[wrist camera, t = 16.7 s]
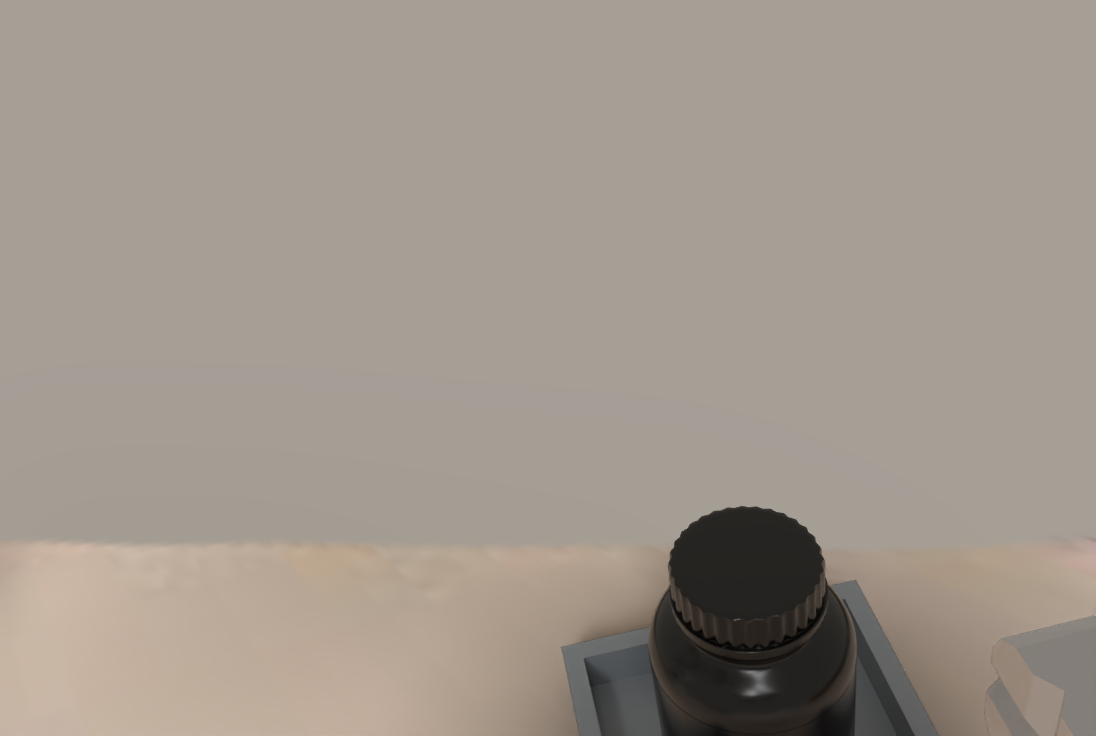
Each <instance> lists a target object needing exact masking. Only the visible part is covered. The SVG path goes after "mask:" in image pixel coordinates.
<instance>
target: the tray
mask: <svg viewBox="0 0 1096 736" xmlns="http://www.w3.org/2000/svg"><path fill="white" fill-rule="evenodd" d="M831 587H832V588H833V589H834V590H835V592H836V593H837V594H838V595H839V597H840V598H841V599H842V601H843V603H844V604H845V606H846V607H847V609H848V611H849V614H850V616H851V618H852V621H853V624H854V628H855V632H856V641H857V677H856V710H855V736H939V735H938V733H937V731H936V729H935V727H934V725H933V723H932V722H931V720H930V718H929V716H928V714H927V712H926V710H925V708H924V707H923V705H922V703H921V701H920V699H919V697H918V695H917V693H916V692H915V690H914V688H913V686H912V684H911V682H910V680H909V678H908V677H907V675H906V673H905V671H904V669H903V667H902V665H901V663H900V662H899V660H898V658H897V656H896V654H895V652H894V650H893V648H892V647H891V645H890V643H889V641H888V639H887V637H886V635H885V634H884V632H883V630H882V628H881V626H880V624H879V622H878V620H877V619H876V617H875V615H874V613H873V611H872V609H871V607H870V605H869V604H868V602H867V600H866V598H865V596H864V594H863V592H862V590H861V589H860V587H859V585H858V583H857V581H856V580H854V581H850V582H845V583H841V584H836V585H832V586H831ZM648 633H649V627H647V628H643V629H638V630H634V631H629V632H625V633H621V634H616V635H612V636H607V637H603V638H599V639H594V640H590V641H585V642H581V643H577V644H572V645H568V646H563V647H561V648H562V653H563V658H564V663H565V667H566V672H567V677H568V682H569V687H570V691H571V696H572V701H573V706H574V711H575V715H576V720H577V725H578V730H579V735H580V736H662V734H661V728H660V721H659V715H658V709H657V703H656V696H655V690H654V684H653V678H652V671H651V665H650V658H649V649H648Z"/></svg>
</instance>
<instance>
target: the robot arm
mask: <svg viewBox="0 0 1096 736" xmlns="http://www.w3.org/2000/svg"><path fill="white" fill-rule="evenodd" d="M991 664H992V666H993V667H994V669H995V671H996V672H997V674H998V676H999V677H1000V678H999V679H998V680H997V681H996V682H995V683H994V684H993V685H992V686H991V687H990V688H989V689H988V690H987V691H986V701H985V712H984V713H985V718H986V723H987V727H988V732H989V736H1096V616H1090V617H1086V618H1082V619H1078V620H1074V621H1070V622H1066V623H1062V624H1058V625H1054V626H1050V627H1046V628H1042V629H1038V630H1034V631H1030V632H1026V633H1022V634H1018V635H1014V636H1010V637H1006V638H1002V639H1000V640H999V641H998V642H997V643H996V644H995V645H994V646H993V652H992V658H991Z"/></svg>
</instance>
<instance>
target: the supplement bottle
mask: <svg viewBox="0 0 1096 736" xmlns="http://www.w3.org/2000/svg"><path fill="white" fill-rule="evenodd" d="M668 572H669V579H670V585H669V587H668V589H667V590H666V591H665V593H664V594H663V595H662V597H661V598H660V600H659V602H658V604H657V606H656V608H655V610H654V612H653V615H652V618H651V622H650V626H649V633H648V649H649V658H650V665H651V671H652V678H653V684H654V690H655V696H656V703H657V709H658V715H659V721H660V728H661V734H662V736H855V710H856V677H857V641H856V632H855V628H854V624H853V621H852V618H851V616H850V614H849V611H848V609H847V607H846V606H845V604H844V603H843V601H842V599H841V598H840V597H839V595H838V594H837V593H836V592H835V590H834V589H833V588H832V587H831V586H830V585H829V584H828V583H827V580H826V577H825V560H824V558H823V556H822V550H821V547H820V546H819V545H818V544H817V543H816V540H815V537H814V536H813V535H812V534H810V533H809V532H808V530H807V528H806V527H804V526H802V525H800V524H799V523H798V522H797V520H795V519H793V518H789V517H787V516H786V515H785V514H784V513H779V512H775V511H773V510H772V509H762V508H759V507H745V506H740V507H737V508H726V509H723V510H721V511H713V512H712V513H711V514H709V515H705V516H702V517H701V518H700V519H699V520H698V521H695V522H693V523H691V524H690V525H689V527H688V528H687V529H686V530H684V531H682V532H681V535H680V537H679V538H678V539H677V540H676V541H675V543H674V548H673V549H672V550H671V552H670V561H669V563H668Z"/></svg>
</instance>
